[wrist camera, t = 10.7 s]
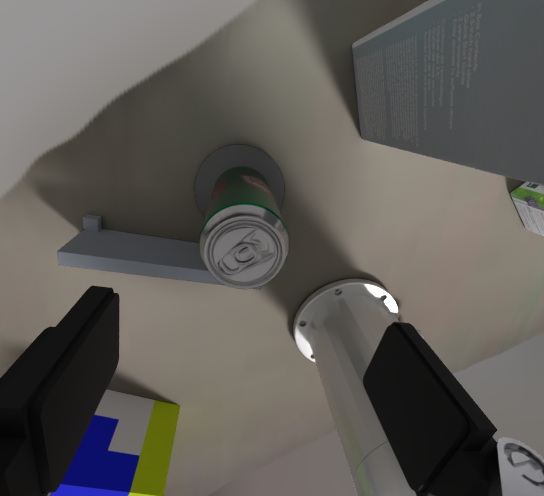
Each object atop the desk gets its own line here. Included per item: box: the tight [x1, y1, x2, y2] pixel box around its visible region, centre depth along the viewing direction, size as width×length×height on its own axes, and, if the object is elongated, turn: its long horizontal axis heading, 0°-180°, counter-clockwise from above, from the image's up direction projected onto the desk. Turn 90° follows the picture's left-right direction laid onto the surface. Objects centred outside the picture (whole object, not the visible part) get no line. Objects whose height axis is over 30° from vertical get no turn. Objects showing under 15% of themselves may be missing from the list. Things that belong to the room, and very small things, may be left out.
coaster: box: [195, 144, 285, 216], centre depth 26 cm, size 8×8×1 cm
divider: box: [57, 214, 262, 290], centre depth 26 cm, size 16×4×5 cm, turn 77°
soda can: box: [199, 166, 290, 289], centre depth 20 cm, size 5×5×12 cm
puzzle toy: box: [50, 389, 180, 496], centre depth 34 cm, size 10×10×10 cm
